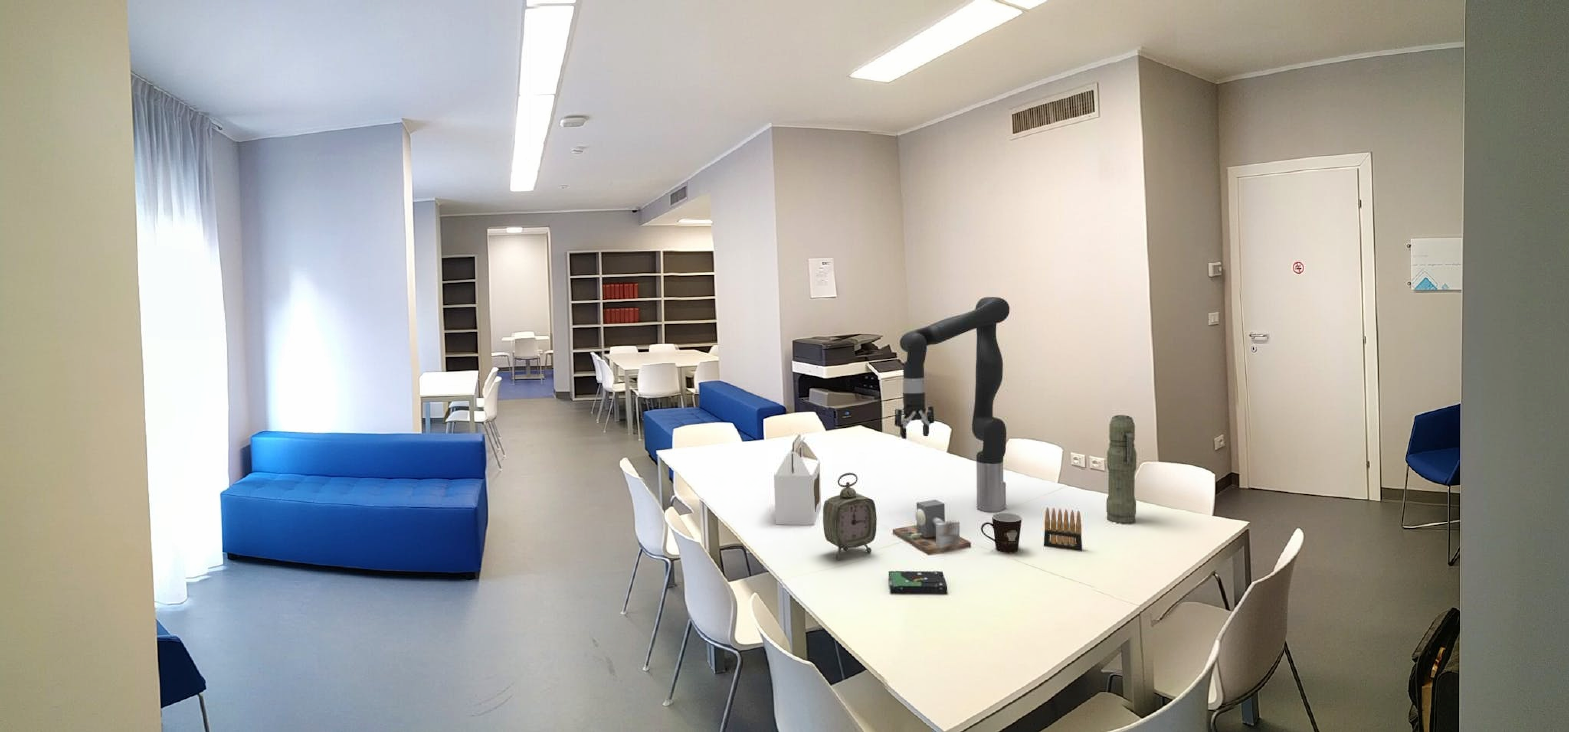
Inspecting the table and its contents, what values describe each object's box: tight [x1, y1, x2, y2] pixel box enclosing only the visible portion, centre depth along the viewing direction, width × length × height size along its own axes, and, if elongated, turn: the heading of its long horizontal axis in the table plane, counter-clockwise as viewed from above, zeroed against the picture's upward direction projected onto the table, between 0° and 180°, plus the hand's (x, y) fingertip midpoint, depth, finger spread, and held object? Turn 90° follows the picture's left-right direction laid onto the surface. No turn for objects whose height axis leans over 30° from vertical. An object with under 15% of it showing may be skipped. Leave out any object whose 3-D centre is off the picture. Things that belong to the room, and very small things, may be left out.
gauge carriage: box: [911, 499, 946, 538], centre depth 225 cm, size 10×8×10 cm
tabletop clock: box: [822, 472, 878, 561], centre depth 217 cm, size 14×9×25 cm, turn 117°
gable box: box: [773, 434, 822, 526], centre depth 257 cm, size 22×13×28 cm, turn 170°
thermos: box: [1105, 414, 1138, 525], centre depth 239 cm, size 9×12×35 cm
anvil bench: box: [892, 519, 972, 556], centre depth 228 cm, size 15×22×8 cm
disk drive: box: [888, 570, 948, 595], centre depth 193 cm, size 10×3×15 cm
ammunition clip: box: [1043, 507, 1083, 552], centre depth 217 cm, size 11×2×12 cm, turn 61°
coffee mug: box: [980, 512, 1023, 554], centre depth 218 cm, size 12×9×10 cm
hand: (914, 437), depth 249 cm, fingers open, 8 cm apart
